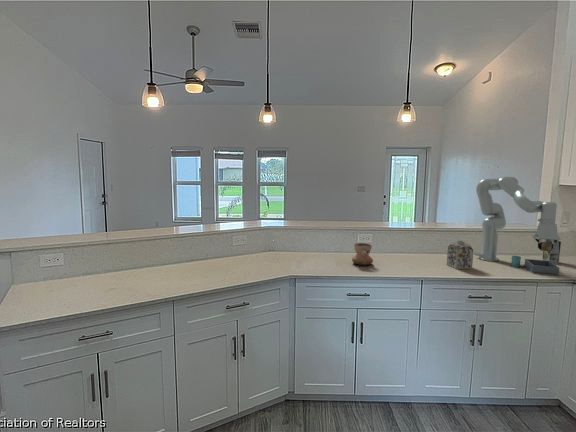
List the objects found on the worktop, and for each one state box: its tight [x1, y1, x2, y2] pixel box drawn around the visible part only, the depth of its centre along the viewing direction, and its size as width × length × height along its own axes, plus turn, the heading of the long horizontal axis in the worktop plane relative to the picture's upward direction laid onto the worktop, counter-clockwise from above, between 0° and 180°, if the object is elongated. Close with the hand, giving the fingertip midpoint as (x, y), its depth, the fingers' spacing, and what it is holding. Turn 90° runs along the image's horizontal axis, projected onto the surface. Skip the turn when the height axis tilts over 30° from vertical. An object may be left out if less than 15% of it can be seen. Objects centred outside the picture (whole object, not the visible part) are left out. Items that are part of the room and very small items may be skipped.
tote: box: [524, 258, 560, 276], centre depth 220 cm, size 18×14×5 cm
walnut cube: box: [539, 241, 552, 252], centre depth 214 cm, size 5×5×5 cm
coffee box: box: [542, 239, 562, 265], centre depth 239 cm, size 9×6×16 cm
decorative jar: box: [446, 240, 474, 270], centre depth 227 cm, size 12×12×18 cm
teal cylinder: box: [510, 255, 521, 268], centre depth 229 cm, size 5×5×7 cm
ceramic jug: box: [351, 242, 374, 266], centre depth 235 cm, size 18×14×14 cm
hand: (545, 249), depth 214 cm, fingers closed on walnut cube, 4 cm apart
